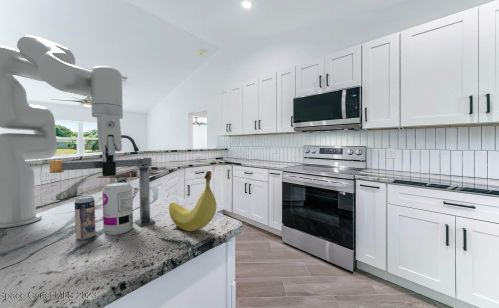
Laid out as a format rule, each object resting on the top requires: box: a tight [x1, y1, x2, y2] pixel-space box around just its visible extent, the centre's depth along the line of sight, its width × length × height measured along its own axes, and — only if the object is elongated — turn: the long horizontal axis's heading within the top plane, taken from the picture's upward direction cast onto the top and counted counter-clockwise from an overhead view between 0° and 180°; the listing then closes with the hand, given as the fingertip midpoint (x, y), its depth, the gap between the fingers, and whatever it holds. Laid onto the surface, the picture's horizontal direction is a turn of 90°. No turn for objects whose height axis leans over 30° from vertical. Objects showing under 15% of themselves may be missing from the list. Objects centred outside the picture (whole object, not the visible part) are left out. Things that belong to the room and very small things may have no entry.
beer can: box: [74, 195, 97, 241], centre depth 66 cm, size 5×5×12 cm
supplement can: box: [102, 181, 134, 236], centre depth 71 cm, size 8×8×15 cm
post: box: [134, 166, 156, 227], centre depth 78 cm, size 5×5×20 cm
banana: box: [168, 170, 217, 232], centre depth 71 cm, size 23×6×20 cm, turn 50°
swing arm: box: [48, 157, 153, 174], centre depth 69 cm, size 27×5×3 cm, turn 135°
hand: (109, 175), depth 64 cm, fingers closed
